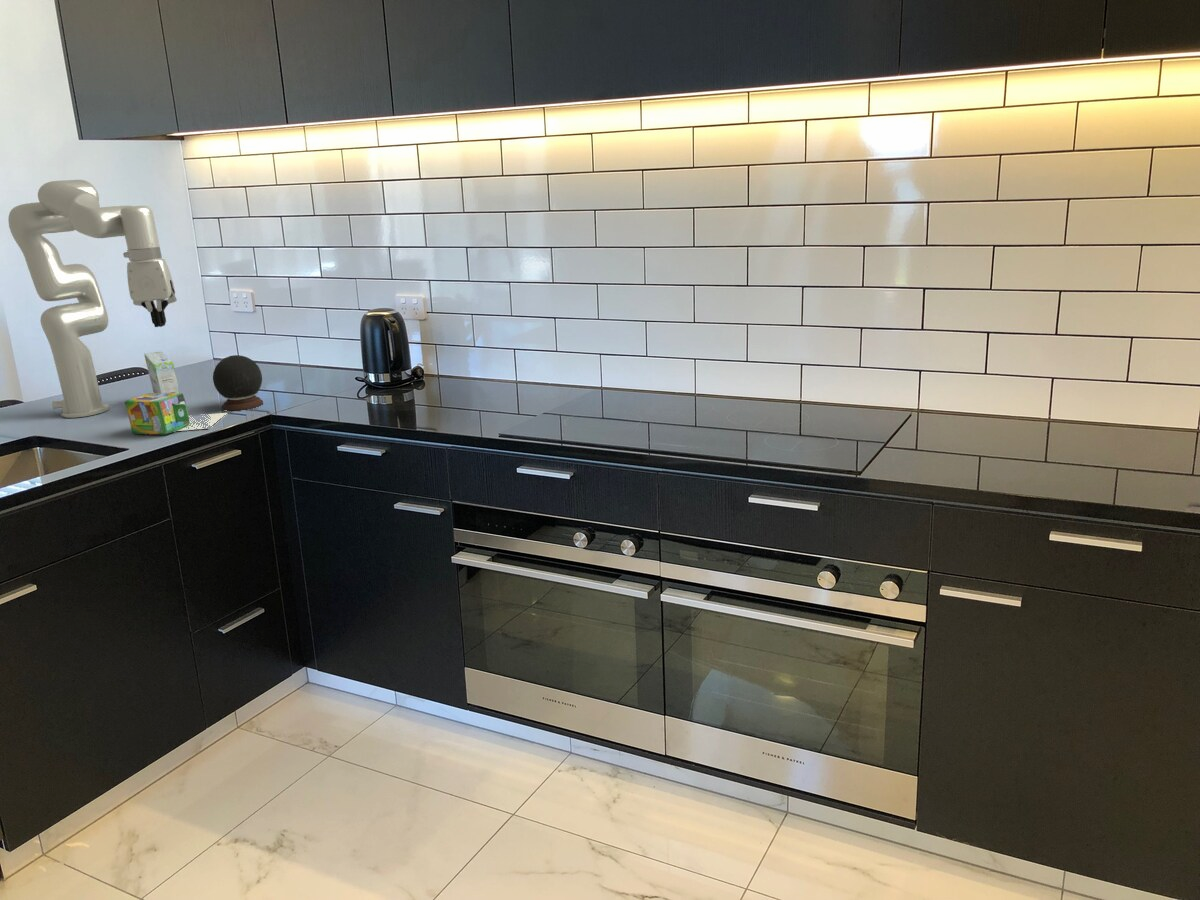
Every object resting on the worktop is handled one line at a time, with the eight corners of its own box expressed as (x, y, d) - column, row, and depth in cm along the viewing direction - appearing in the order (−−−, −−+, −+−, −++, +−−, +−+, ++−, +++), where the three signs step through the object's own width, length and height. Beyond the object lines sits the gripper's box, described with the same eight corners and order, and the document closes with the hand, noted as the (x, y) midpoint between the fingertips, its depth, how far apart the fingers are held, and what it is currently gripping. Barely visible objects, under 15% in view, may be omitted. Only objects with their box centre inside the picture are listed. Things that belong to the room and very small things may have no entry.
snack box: (153, 401, 280) (143, 353, 276) (173, 398, 283) (163, 350, 278) (164, 415, 263) (153, 363, 258) (185, 411, 266) (174, 360, 261)
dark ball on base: (266, 398, 275) (257, 348, 270) (267, 408, 263) (258, 356, 258) (219, 404, 270) (209, 354, 266) (218, 415, 258) (208, 362, 254)
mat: (146, 434, 243) (146, 433, 243) (169, 418, 258) (169, 417, 258) (208, 429, 244) (208, 428, 243) (227, 414, 259) (227, 412, 259)
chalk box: (123, 401, 240) (167, 401, 235) (150, 392, 249) (193, 391, 244) (131, 435, 243) (175, 435, 238) (158, 425, 251) (201, 425, 246)
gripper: (109, 259, 233) (125, 330, 239) (169, 254, 234) (184, 326, 239) (121, 256, 240) (137, 325, 246) (180, 252, 241) (194, 321, 247)
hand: (160, 326), depth 243 cm, fingers closed
